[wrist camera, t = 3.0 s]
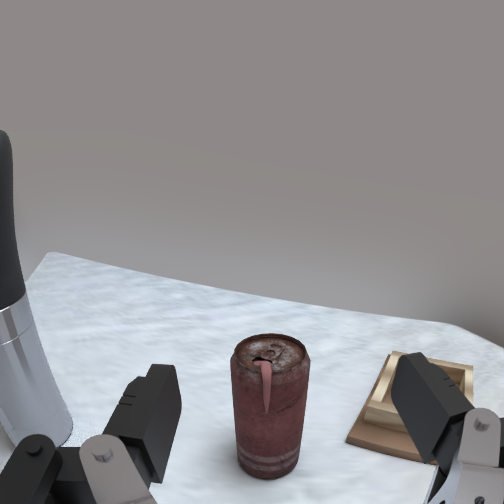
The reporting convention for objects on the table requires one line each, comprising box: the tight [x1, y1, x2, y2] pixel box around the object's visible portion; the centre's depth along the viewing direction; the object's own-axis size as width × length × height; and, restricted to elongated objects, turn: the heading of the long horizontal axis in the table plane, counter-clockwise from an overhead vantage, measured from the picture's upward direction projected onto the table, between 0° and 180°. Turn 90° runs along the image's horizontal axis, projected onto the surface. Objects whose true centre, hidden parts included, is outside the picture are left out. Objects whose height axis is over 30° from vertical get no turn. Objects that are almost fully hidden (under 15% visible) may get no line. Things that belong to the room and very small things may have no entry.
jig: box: [346, 351, 473, 465], centre depth 29 cm, size 18×14×4 cm
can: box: [230, 333, 310, 478], centre depth 24 cm, size 6×6×14 cm
